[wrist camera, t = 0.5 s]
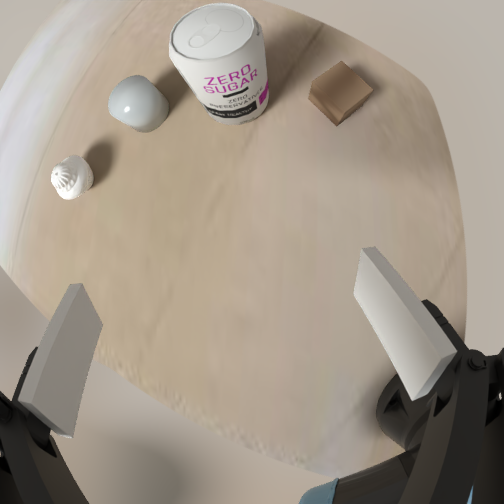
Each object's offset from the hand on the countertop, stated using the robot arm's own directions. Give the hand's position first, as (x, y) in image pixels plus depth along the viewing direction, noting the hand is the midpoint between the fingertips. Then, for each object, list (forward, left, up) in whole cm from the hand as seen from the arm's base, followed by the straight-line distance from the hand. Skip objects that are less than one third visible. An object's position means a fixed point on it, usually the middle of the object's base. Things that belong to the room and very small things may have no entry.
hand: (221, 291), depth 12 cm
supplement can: (+18, -6, -21) cm, 29 cm away
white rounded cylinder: (+23, +5, -21) cm, 32 cm away
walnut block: (+12, -17, -21) cm, 30 cm away
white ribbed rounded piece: (+20, +18, -21) cm, 34 cm away
